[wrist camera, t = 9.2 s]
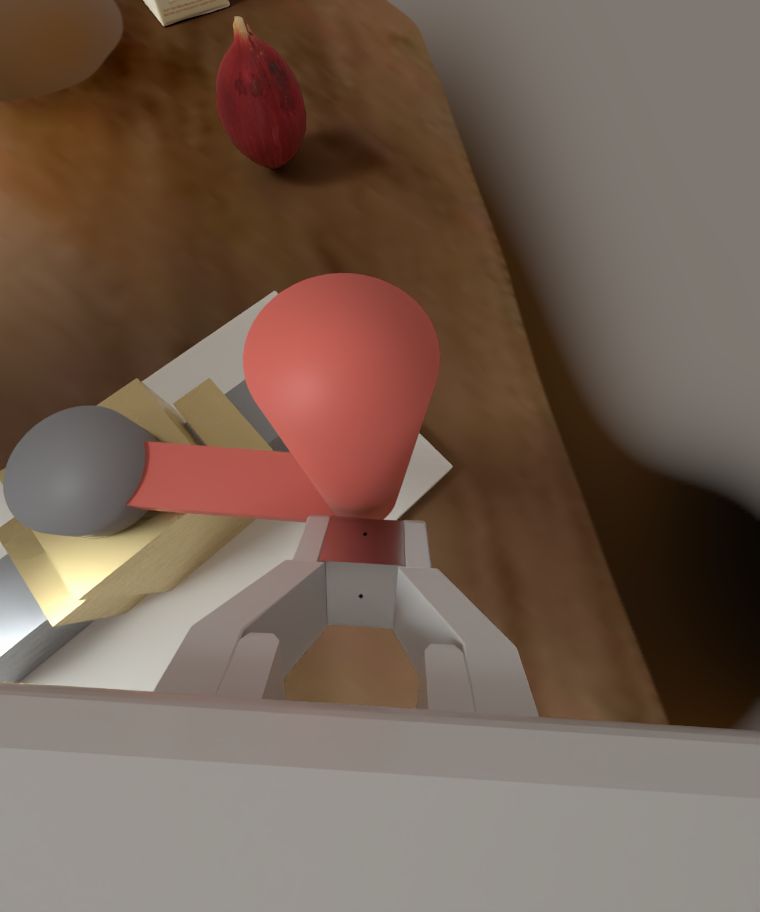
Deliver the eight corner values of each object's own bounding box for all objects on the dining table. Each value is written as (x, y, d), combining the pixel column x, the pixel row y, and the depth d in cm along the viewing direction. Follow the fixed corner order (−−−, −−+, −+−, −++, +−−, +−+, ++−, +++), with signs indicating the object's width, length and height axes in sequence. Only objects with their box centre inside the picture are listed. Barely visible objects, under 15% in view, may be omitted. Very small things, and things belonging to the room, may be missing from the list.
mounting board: (74, 823, 16) (51, 842, 15) (-76, 551, 20) (-104, 549, 18) (448, 471, 21) (452, 466, 20) (279, 303, 25) (274, 290, 24)
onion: (328, 162, 29) (312, 15, 21) (280, 205, 27) (244, 64, 20) (272, 131, 30) (238, -20, 22) (223, 171, 28) (167, 24, 21)
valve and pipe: (40, 710, 18) (-175, 800, 11) (-16, 611, 19) (-241, 634, 12) (378, 423, 22) (380, 358, 15) (315, 359, 23) (291, 272, 17)
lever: (21, 533, 13) (-777, 447, 4) (64, 416, 14) (-460, 156, 5) (391, 562, 13) (434, 543, 4) (399, 442, 14) (444, 222, 5)
